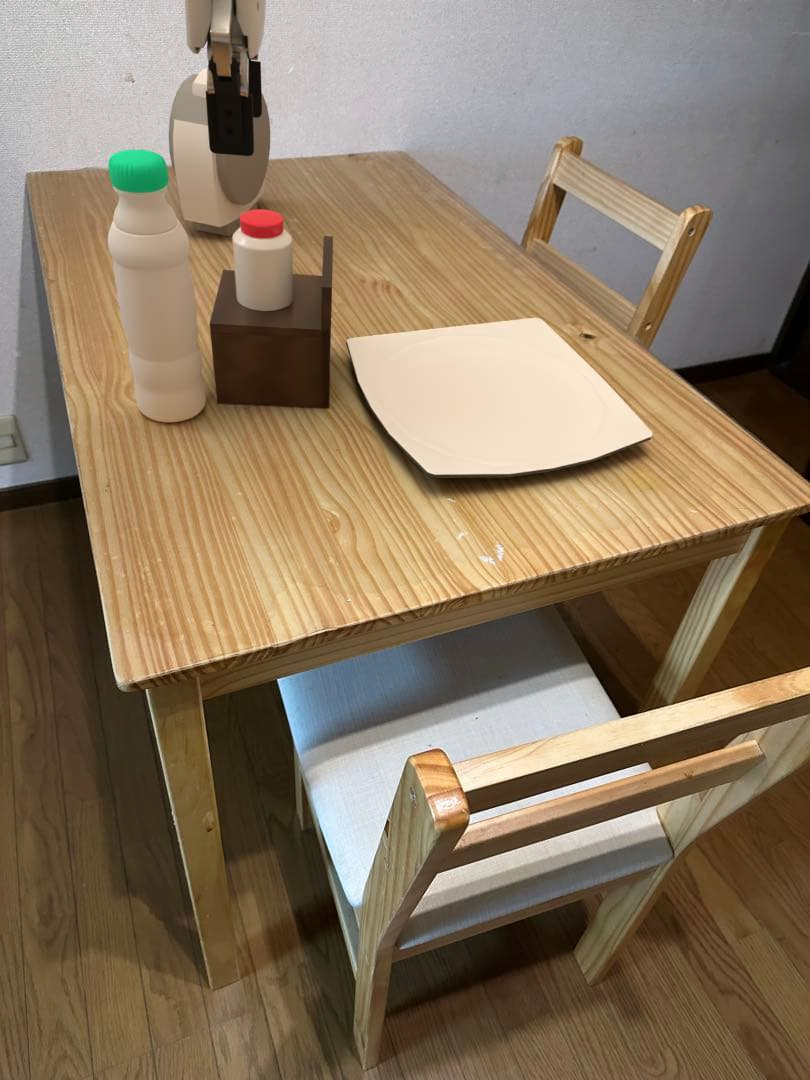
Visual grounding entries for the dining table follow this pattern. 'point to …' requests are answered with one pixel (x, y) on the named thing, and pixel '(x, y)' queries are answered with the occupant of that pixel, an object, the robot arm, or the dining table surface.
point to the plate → (491, 399)
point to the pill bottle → (263, 261)
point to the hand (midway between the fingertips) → (237, 133)
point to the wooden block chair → (275, 344)
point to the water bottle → (155, 289)
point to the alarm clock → (213, 163)
